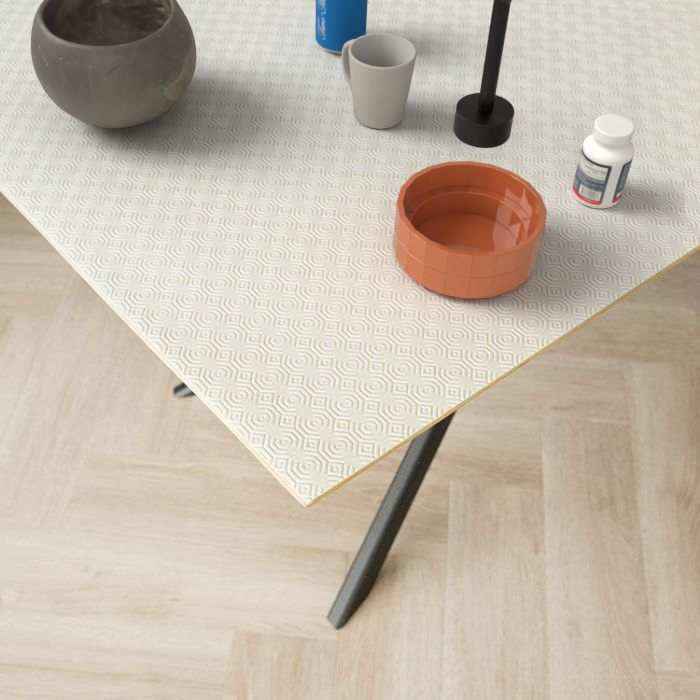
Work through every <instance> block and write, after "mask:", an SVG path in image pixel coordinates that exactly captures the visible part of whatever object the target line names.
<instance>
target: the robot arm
mask: <svg viewBox="0 0 700 700" xmlns="http://www.w3.org/2000/svg"><path fill="white" fill-rule="evenodd" d="M500 1H501V2H504V3H506V4H510V3H511V4H512V2H513V0H500Z"/></svg>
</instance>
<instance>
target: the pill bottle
mask: <svg viewBox="0 0 700 700" xmlns="http://www.w3.org/2000/svg"><path fill="white" fill-rule="evenodd" d="M634 132H635V124H634V123H633V121H632V120H631V119H629V118H627V117H625V116H623V115H620V114H616V113H615V114H614V113H606V114H601V115H600V116H598V117H597V118H596V119H595V120H594V123H593V127H592V130H591V133H590V134H589V135H587V137H586V138H585V139H584V141H583V143H582V145H581V150H580V153H579V157H578V162H577V166H576V170H575V174H574V177H573V181H572V186H571V192H572V196H573V197H574V199H576V201H577V202H579V203H580V204H582V205H583V206H586V207H589V208H593V209H607V208H611V207H614V206H615V205H617V204H618V203H619V202H620V200H621V199H622V196H623V193H624V189H625V186H626V182H627V180H628V176H629V173H630V169H631V166H632V162H633V159H634V156H635V146H634V144H633V142H632V140H633V136H634Z"/></svg>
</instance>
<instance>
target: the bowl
mask: <svg viewBox="0 0 700 700" xmlns="http://www.w3.org/2000/svg"><path fill="white" fill-rule="evenodd" d="M197 55H198V54H197V44H196V39H195V35H194V31H193V28H192V26H191V24H190V21H189V19H188V16H186V13H185V11H184V10H183V8H182V7H181V5H180V4H179V2H178V1H177V0H42V1H41V3H40V4H39V6H38V8H37V10H36V13H35V14H34V17H33V21H32V26H31V32H30V56H31V63H32V66H33V70H34V72H35V75H36V78H37V81H38V82H39V83H40V86H41V87H42V89H43V91H44V92H45V94H46V95H47V97H49V99H50V100H51V101H52V102H53V103H54V104H55V105H56V106H57V107H58V108H59V109H60V110H61V111H63V112H64V113H66V114H67V115H69V116H71V117H72V118H74V119H76V120H78V121H80V122H83V123H84V124H87V125H91V126H94V127H99V128H103V129H104V128H105V129H126V128H130V127H135V126H138V125H141V124H142V125H143V124H145V123H147V122H150V121H152V120H154V119H157V118H158V117H160V116H161V115H163V114H164V113H166V112H167V111H168V110H170V109H171V108H172V107H173V106H174V105H175V104H176V103H178V101H180V99H181V98H182V97H183V96H184V94H185V93H186V92H187V91H188V88H189V87H190V85H191V83H192V81H193V78H194V74H195V71H196V66H197V57H198V56H197Z"/></svg>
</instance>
